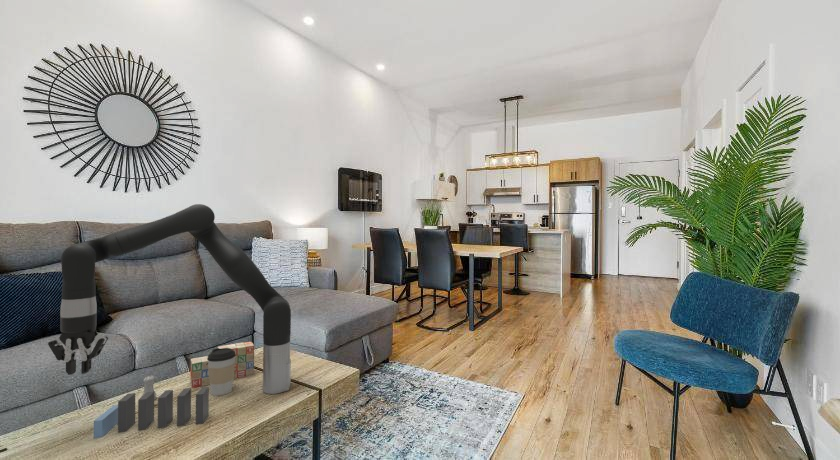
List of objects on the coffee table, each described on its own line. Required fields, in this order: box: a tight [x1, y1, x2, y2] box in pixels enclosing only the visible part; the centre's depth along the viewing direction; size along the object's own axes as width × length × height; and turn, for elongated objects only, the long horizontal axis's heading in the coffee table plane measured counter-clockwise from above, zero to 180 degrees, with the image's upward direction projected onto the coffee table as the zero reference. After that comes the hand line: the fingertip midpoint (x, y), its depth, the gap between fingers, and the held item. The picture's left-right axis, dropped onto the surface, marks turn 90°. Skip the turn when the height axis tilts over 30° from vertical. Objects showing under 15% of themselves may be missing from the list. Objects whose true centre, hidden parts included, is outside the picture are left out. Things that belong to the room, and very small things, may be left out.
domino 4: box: [176, 387, 192, 427], centre depth 109 cm, size 2×5×9 cm, turn 14°
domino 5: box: [195, 386, 210, 425], centre depth 110 cm, size 2×5×9 cm, turn 14°
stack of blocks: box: [189, 341, 255, 389], centre depth 140 cm, size 21×6×12 cm, turn 126°
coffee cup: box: [207, 347, 236, 397], centre depth 129 cm, size 9×9×15 cm
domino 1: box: [117, 392, 136, 434], centre depth 105 cm, size 2×5×9 cm, turn 14°
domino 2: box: [137, 390, 155, 431], centre depth 107 cm, size 2×5×9 cm, turn 14°
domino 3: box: [157, 389, 174, 429], centre depth 108 cm, size 2×5×9 cm, turn 14°
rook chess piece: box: [140, 375, 158, 401], centre depth 122 cm, size 4×4×8 cm
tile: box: [93, 404, 118, 439], centre depth 105 cm, size 2×5×9 cm
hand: (78, 372), depth 102 cm, fingers open, 2 cm apart
